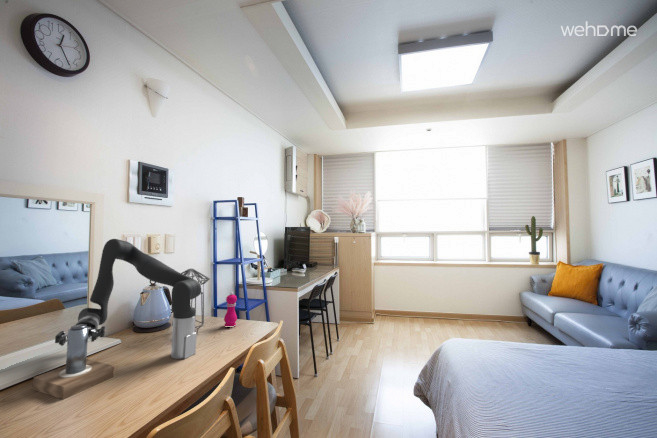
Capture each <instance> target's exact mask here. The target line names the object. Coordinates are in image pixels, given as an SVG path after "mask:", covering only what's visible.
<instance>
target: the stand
mask: <svg viewBox="0 0 657 438" xmlns="http://www.w3.org/2000/svg"><path fill="white" fill-rule="evenodd" d="M114 369H115V367H114V365H112V364H111V365H110V364H107V363H104V362H100V361H97V360H93V359H89V358H86V369H85V370H84V371H82V372H79V373H76V374H66V373H65V371H66V365H63V366H61V367H58V368H56V369H53V370H51V371H47V372H45V373H42V374H39V375H37V376H34V377H33V381H32V383H33V384H32V390H34V391H37V392H40V393H42V394H45V395H49V396H52V397H53V398H54V397H55V398H57V399H59V400H65V399H67V398H70V397H72V396H74V395H76V394H78V393H80V392H83V391H85V390H88V389H90V388H91V387H93V386H97V385H98V384H101V383H103V382H105V381H107V380H110V379H111V378H114Z"/></svg>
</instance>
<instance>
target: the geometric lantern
mask: <svg viewBox="0 0 657 438" xmlns="http://www.w3.org/2000/svg"><path fill="white" fill-rule="evenodd" d="M180 273H181V274H183V275H185V276H188V277H190V278H192V279H195V278H196V279H197V280H196V281H197V282H198V283H199V284H200V286H202V291H201V293H200V295H201V297H200V299H201V300H200V301H201V303H200V304H201V307H200V308H201V321H199V320H197V319H196V320H195V322H197V323H199V324H201V325H197V326H196V325H195V332H196V333H197V334H198V332H199V329H201V327H203V326H204V324H205V292H204V291H205V288H204V286H205V284H206V283H207V282H208V281H210V280H211V278H210V277H209V276H207V275H205V274H202V273H201V272H199V270H196V269H194V268H188V269H186V270H184V271H183V272H180ZM190 275H191V276H190ZM193 300H194V308H195V309H196V310H197V297H196V298H194V299H191V300H190V306H191V307H193ZM171 327H173V320H172V322H171Z"/></svg>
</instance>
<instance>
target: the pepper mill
mask: <svg viewBox="0 0 657 438" xmlns="http://www.w3.org/2000/svg"><path fill="white" fill-rule="evenodd" d="M225 301H226V307H227V310H226V313H225V315H224V317H223V321H224V322H225V323H224V327H225V326H234V325H236V326H237V320H238V316H237V313H236V311H235V310H236V308H235V307H236V304H237V303H236V302H237V301H238V299H237V295H235V294H234V292H233V291H231V292H230V294H228V295H227V296H226V298H225Z"/></svg>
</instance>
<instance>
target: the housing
mask: <svg viewBox="0 0 657 438" xmlns="http://www.w3.org/2000/svg"><path fill="white" fill-rule="evenodd" d="M88 328H89V327H88V326H87V325H86V324H80V325H76V324H74V325H73V326H70V328H69V329H68V330H67V333H68V341H67V345H66V358H65V366H66V371H65V373H66V374H76V373H79V372H82V371H84V370H85V369H86V359H88V358H87V355H88V342H89V339H88Z"/></svg>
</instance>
